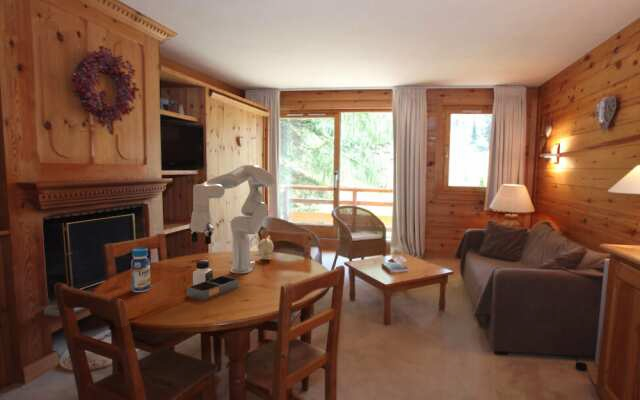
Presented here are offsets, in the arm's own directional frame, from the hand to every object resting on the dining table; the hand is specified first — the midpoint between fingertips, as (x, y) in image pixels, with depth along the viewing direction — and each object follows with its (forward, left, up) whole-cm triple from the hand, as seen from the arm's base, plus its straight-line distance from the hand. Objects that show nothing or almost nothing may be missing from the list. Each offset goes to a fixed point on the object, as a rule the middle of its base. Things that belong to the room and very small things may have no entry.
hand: (201, 242), depth 184 cm
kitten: (-57, -5, -22) cm, 61 cm away
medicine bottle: (-1, 0, -22) cm, 22 cm away
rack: (+4, +13, -21) cm, 25 cm away
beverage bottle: (+21, -18, -22) cm, 35 cm away
